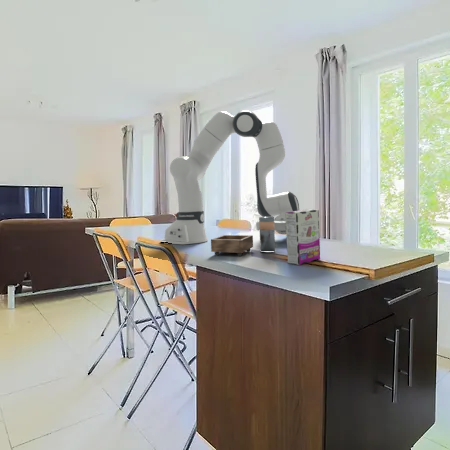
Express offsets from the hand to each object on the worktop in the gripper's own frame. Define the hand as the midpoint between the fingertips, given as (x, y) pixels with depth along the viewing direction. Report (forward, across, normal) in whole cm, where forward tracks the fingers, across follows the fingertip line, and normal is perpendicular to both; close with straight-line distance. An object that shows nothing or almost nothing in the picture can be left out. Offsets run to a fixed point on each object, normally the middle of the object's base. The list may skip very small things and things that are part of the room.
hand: (275, 227), depth 144 cm
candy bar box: (+26, +16, +8) cm, 32 cm away
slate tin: (+12, 0, +8) cm, 14 cm away
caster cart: (+17, -12, +8) cm, 22 cm away
